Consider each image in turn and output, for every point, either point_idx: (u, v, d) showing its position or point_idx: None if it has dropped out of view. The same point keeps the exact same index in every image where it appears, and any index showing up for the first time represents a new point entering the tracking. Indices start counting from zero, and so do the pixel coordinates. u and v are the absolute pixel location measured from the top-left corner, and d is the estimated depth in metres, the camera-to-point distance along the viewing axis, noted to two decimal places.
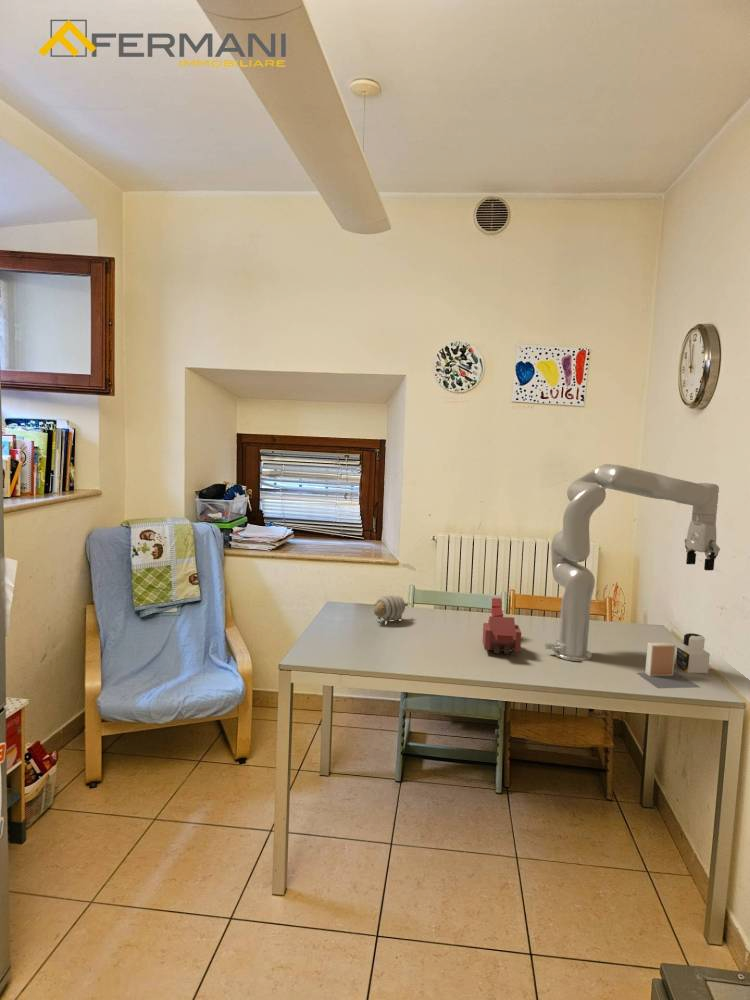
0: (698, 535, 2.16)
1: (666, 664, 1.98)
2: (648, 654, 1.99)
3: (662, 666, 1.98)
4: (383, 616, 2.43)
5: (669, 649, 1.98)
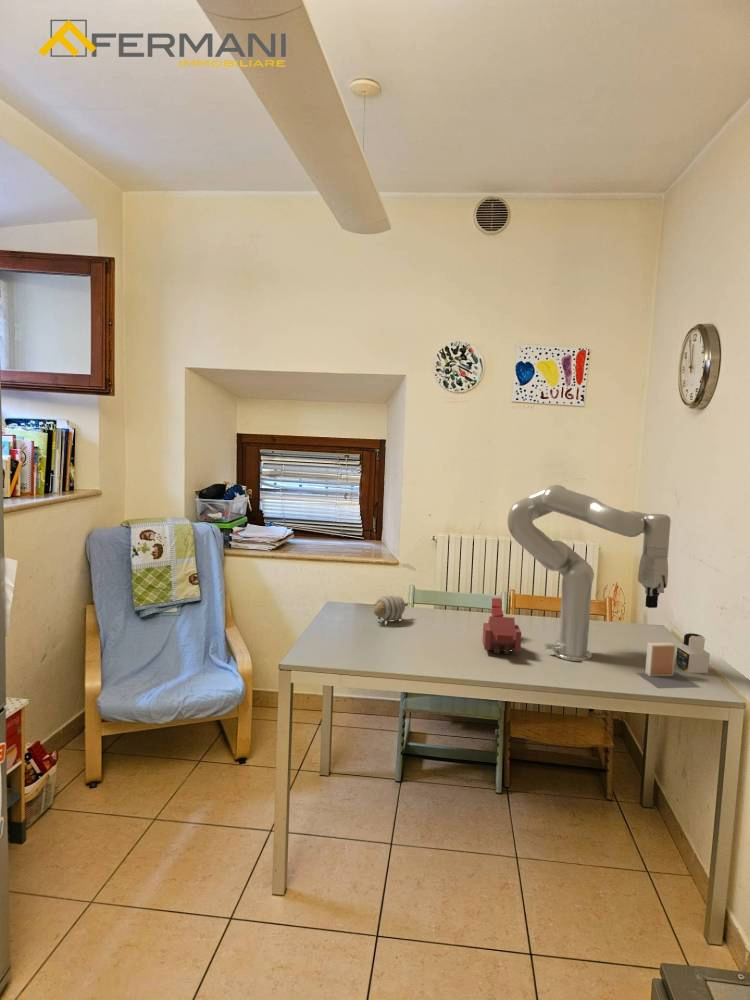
0: (649, 570, 2.01)
1: (666, 664, 1.98)
2: (648, 654, 1.99)
3: (662, 666, 1.98)
4: (383, 616, 2.43)
5: (669, 649, 1.98)
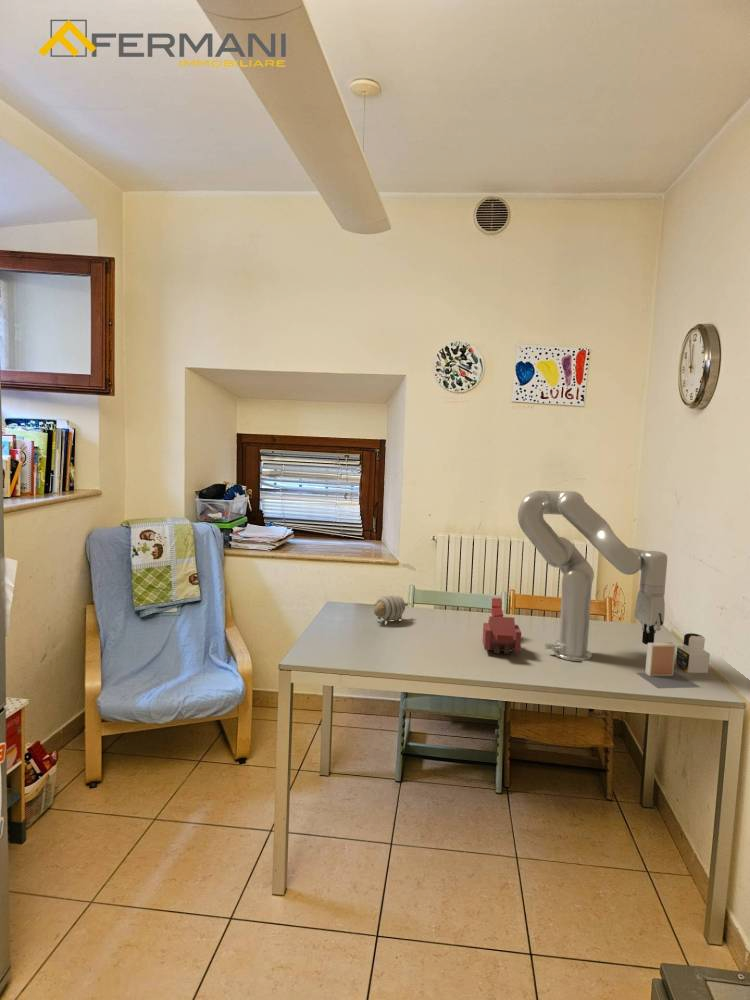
0: (646, 607, 2.03)
1: (666, 664, 1.98)
2: (648, 654, 1.99)
3: (662, 666, 1.98)
4: (383, 616, 2.43)
5: (669, 649, 1.98)
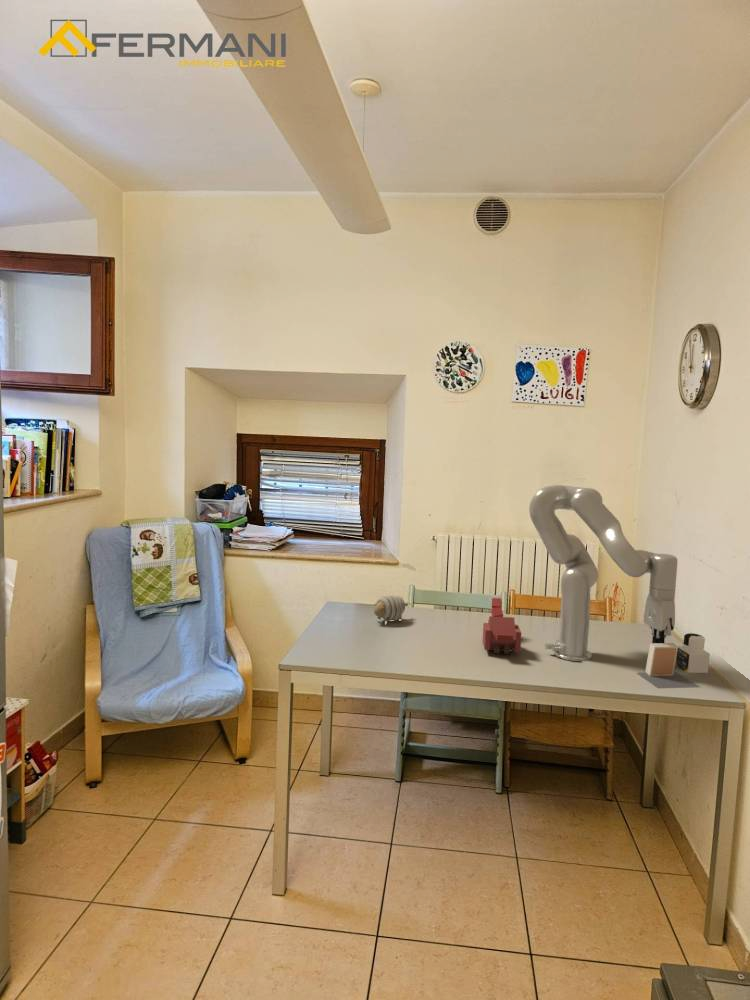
0: (655, 611, 1.97)
1: (667, 665, 1.98)
2: (650, 654, 1.98)
3: (663, 667, 1.98)
4: (383, 616, 2.43)
5: (671, 650, 1.97)
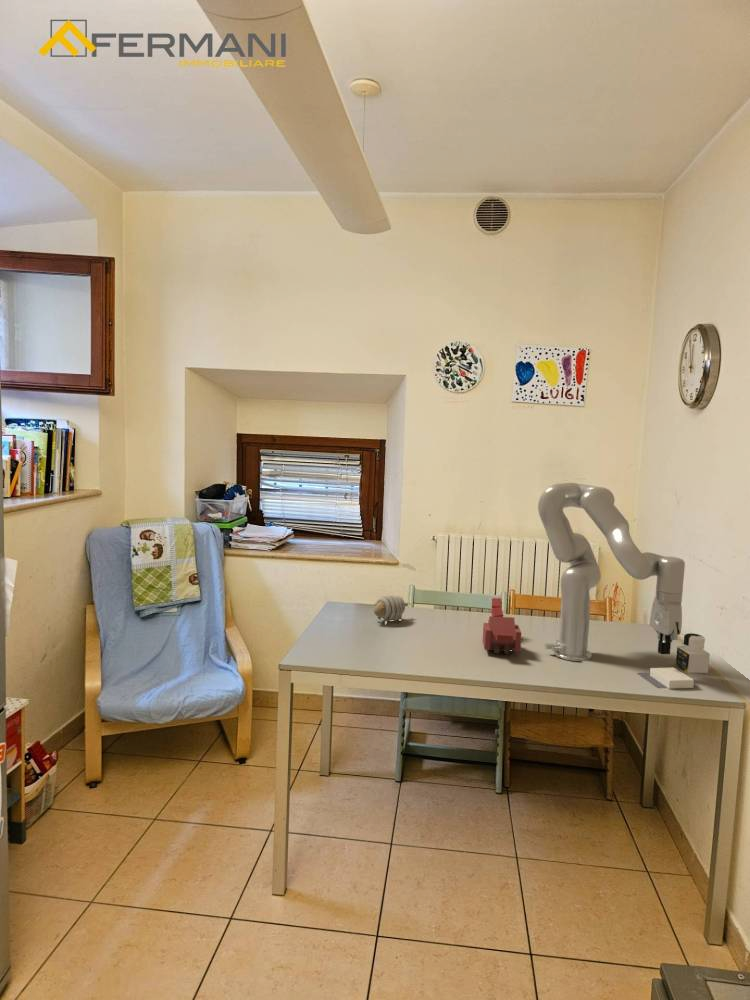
0: (662, 615, 1.94)
1: None
2: (662, 679, 1.91)
3: None
4: (383, 616, 2.43)
5: None
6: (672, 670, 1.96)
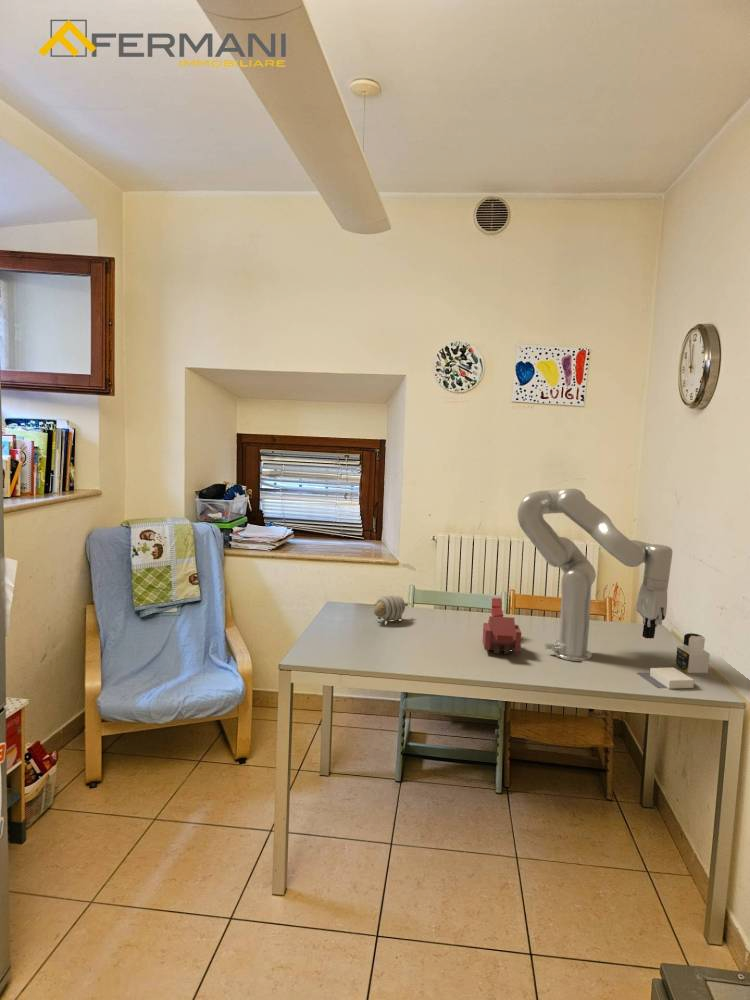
0: (648, 601, 2.01)
1: None
2: (662, 679, 1.91)
3: None
4: (383, 616, 2.43)
5: None
6: (672, 670, 1.96)
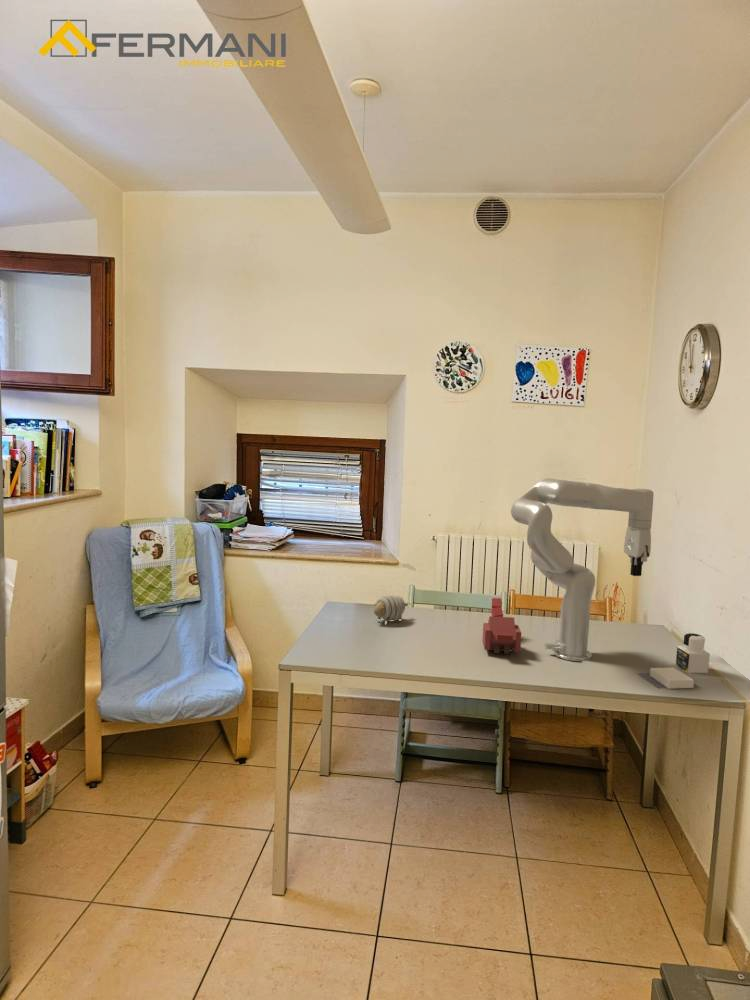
0: (633, 540, 2.18)
1: None
2: (662, 679, 1.91)
3: None
4: (383, 616, 2.43)
5: None
6: (672, 670, 1.96)
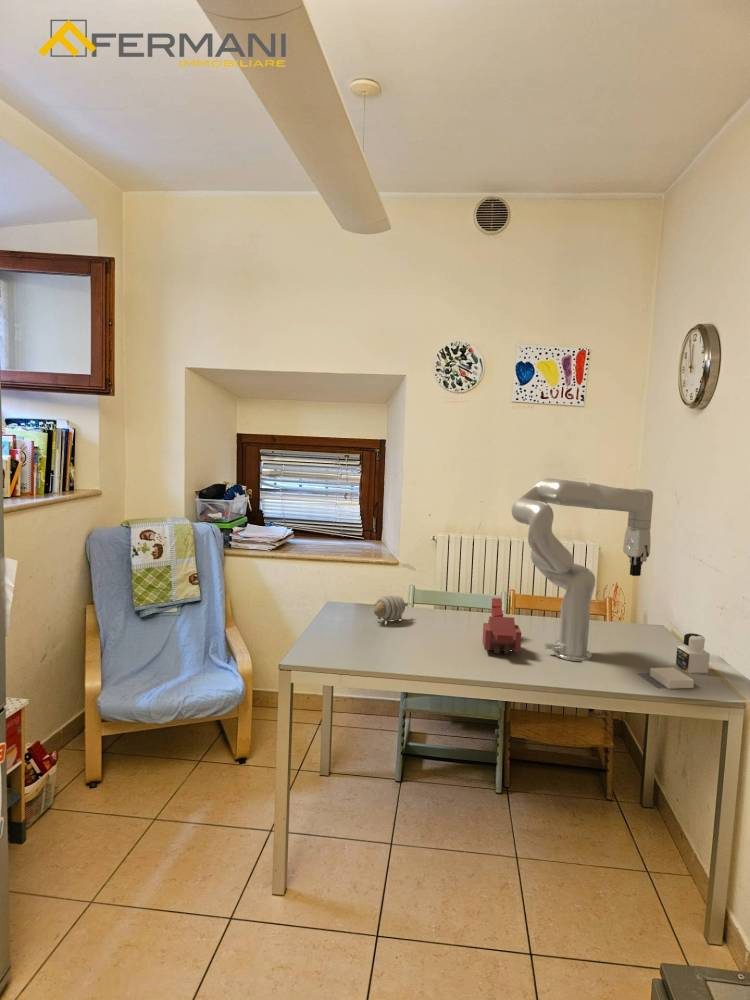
0: (633, 540, 2.18)
1: None
2: (662, 679, 1.91)
3: None
4: (383, 616, 2.43)
5: None
6: (672, 670, 1.96)
